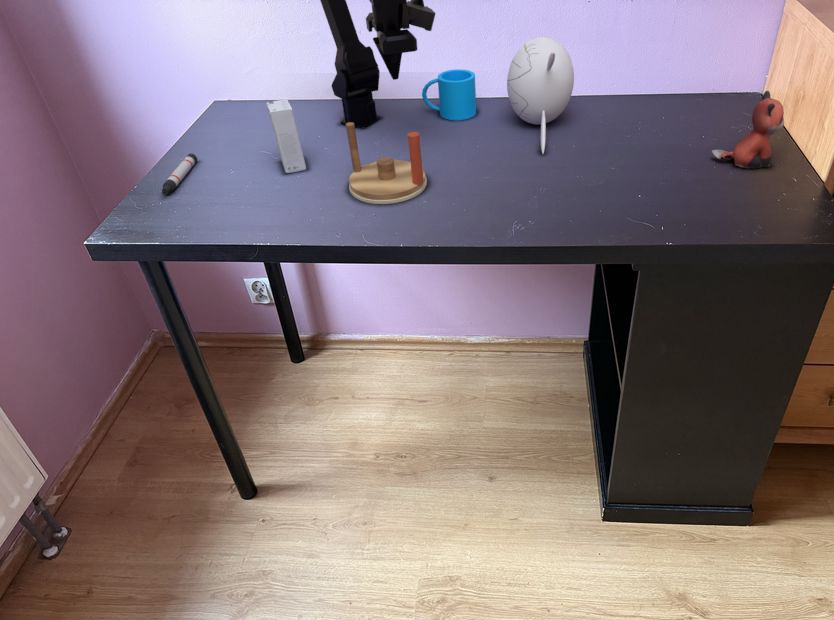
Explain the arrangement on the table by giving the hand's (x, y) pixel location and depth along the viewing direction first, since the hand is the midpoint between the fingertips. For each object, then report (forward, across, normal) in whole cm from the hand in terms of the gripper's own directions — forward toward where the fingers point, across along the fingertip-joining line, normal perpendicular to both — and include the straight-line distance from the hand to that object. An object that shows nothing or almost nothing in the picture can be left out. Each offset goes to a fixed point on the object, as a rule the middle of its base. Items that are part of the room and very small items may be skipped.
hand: (395, 78), depth 128 cm
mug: (+13, +12, -14) cm, 22 cm away
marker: (+13, -1, +44) cm, 46 cm away
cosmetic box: (+13, -3, +23) cm, 26 cm away
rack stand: (+13, -18, +6) cm, 23 cm away
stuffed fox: (+13, -32, -59) cm, 68 cm away
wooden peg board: (+12, -18, +6) cm, 22 cm away
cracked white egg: (+13, -4, -29) cm, 32 cm away
